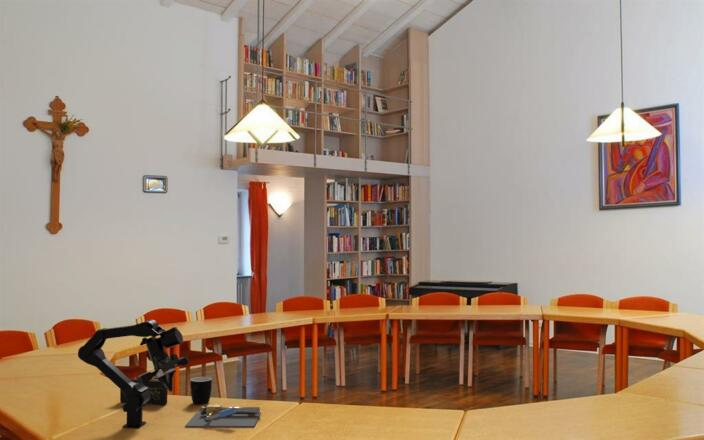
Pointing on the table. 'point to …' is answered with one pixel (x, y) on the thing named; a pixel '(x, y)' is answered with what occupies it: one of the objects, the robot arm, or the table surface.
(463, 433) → the table surface
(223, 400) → the table surface
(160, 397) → the nameplate
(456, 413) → the table surface
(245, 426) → the gray mounting plate
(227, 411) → the valve lever
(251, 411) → the valve pipe
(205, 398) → the mug
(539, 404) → the table surface
